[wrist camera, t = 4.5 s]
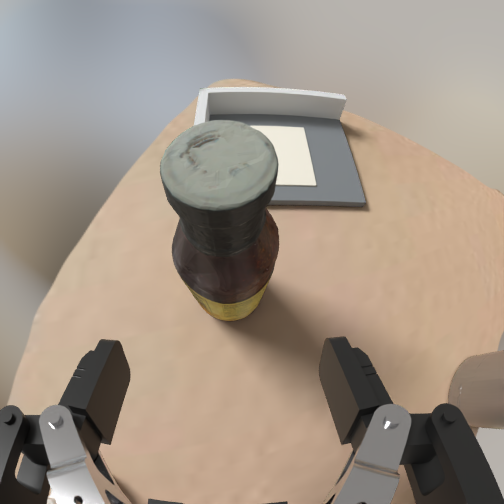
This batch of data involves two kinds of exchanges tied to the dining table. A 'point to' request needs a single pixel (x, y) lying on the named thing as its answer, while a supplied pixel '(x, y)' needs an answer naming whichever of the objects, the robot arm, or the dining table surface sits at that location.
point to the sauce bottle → (223, 214)
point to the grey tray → (294, 140)
